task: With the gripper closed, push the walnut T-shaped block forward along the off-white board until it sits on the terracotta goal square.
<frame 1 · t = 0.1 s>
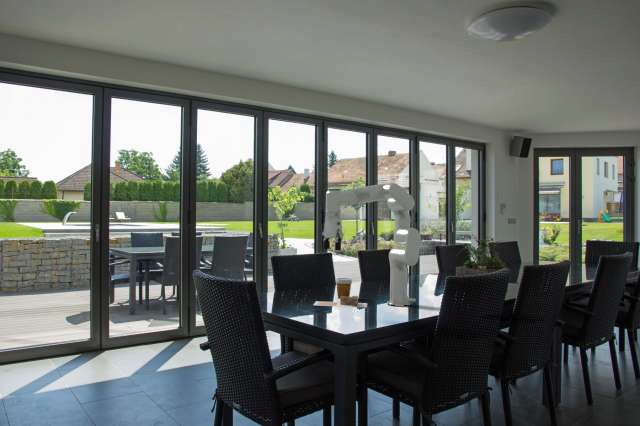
hand: (332, 249, 243), 31 cm above the table, tool pointing down, fingers open, 9 cm apart
walnut T-block: (349, 304, 259), point 1 cm above the table, touching push board
push board: (340, 306, 260), on the table
disposable coffee cup: (343, 300, 279), on the table
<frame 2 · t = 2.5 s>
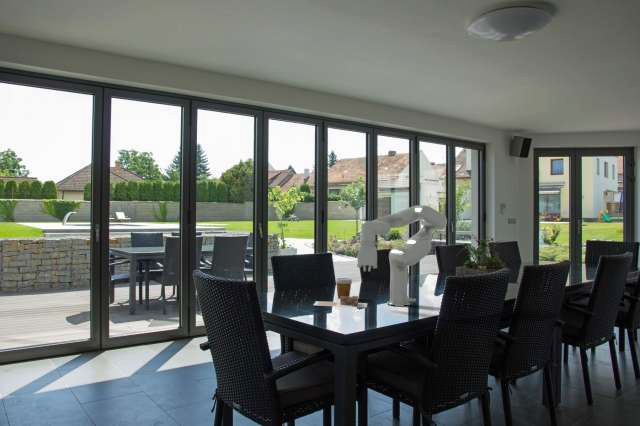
hand: (366, 278, 258), 15 cm above the table, tool pointing down, fingers closed
nothing on the table moved.
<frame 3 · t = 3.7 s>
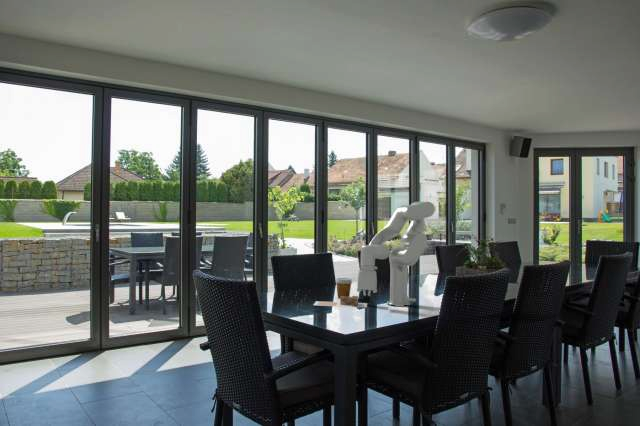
hand: (366, 303, 258), 2 cm above the table, tool pointing down, fingers closed
nothing on the table moved.
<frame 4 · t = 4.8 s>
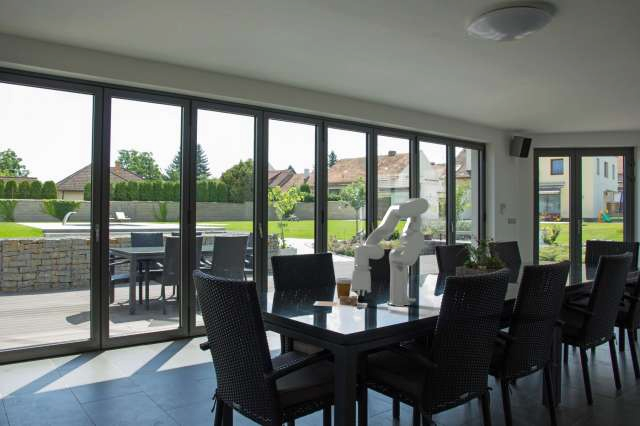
hand: (360, 302, 258), 2 cm above the table, tool pointing down, fingers closed
walnut T-block: (349, 304, 259), point 1 cm above the table, touching gripper, push board
everything else where it was.
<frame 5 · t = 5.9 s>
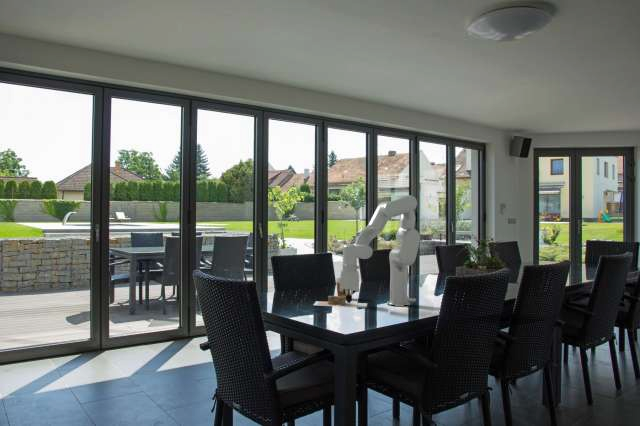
hand: (349, 302, 259), 2 cm above the table, tool pointing down, fingers closed
walnut T-block: (337, 304, 260), point 1 cm above the table, touching gripper, push board
everything else where it was.
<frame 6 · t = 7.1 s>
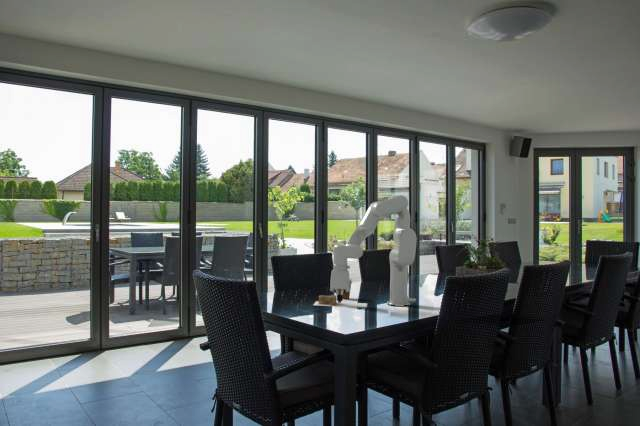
hand: (339, 302, 260), 2 cm above the table, tool pointing down, fingers closed
walnut T-block: (328, 303, 261), point 1 cm above the table, touching gripper, push board
everything else where it was.
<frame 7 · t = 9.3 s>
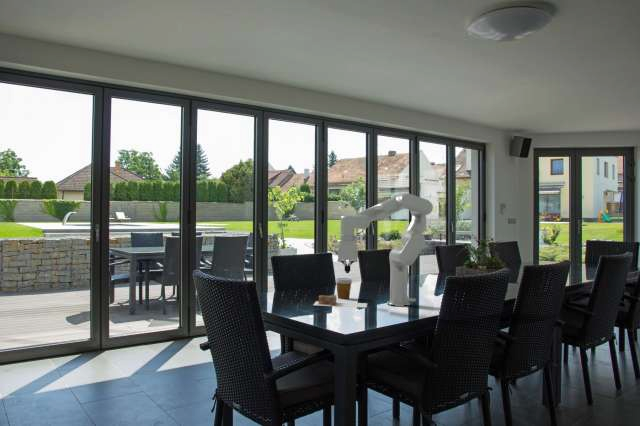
hand: (347, 272, 259), 18 cm above the table, tool pointing down, fingers closed
walnut T-block: (328, 303, 261), point 1 cm above the table, touching push board
everything else where it was.
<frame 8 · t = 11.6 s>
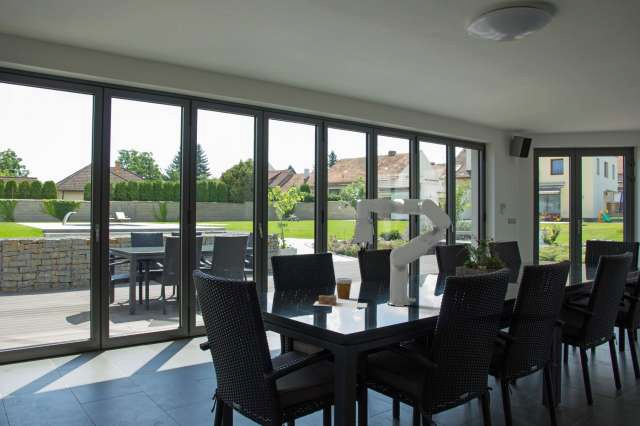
hand: (362, 254, 268), 27 cm above the table, tool pointing down, fingers closed
nothing on the table moved.
at the end: walnut T-block 0.4 cm from the target spot on the push board, point 1.0 cm above the push board's base; walnut T-block tilted 0° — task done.
